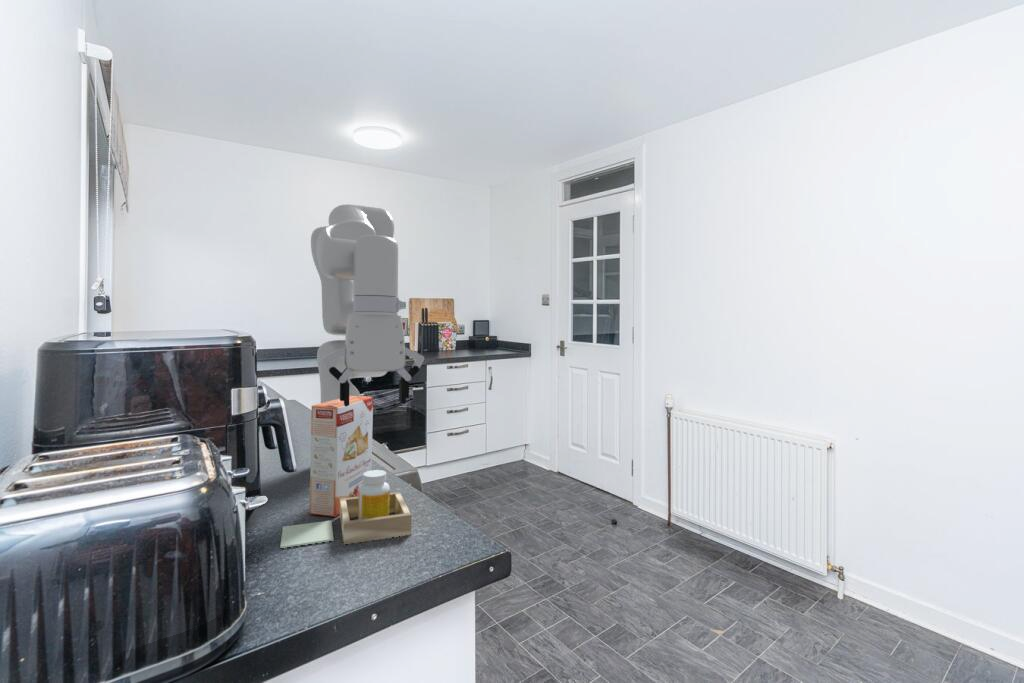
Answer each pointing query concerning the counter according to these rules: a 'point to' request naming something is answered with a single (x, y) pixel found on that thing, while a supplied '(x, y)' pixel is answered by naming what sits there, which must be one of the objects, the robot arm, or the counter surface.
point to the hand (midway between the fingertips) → (374, 403)
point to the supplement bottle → (374, 495)
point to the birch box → (374, 521)
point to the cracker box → (339, 452)
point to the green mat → (307, 534)
